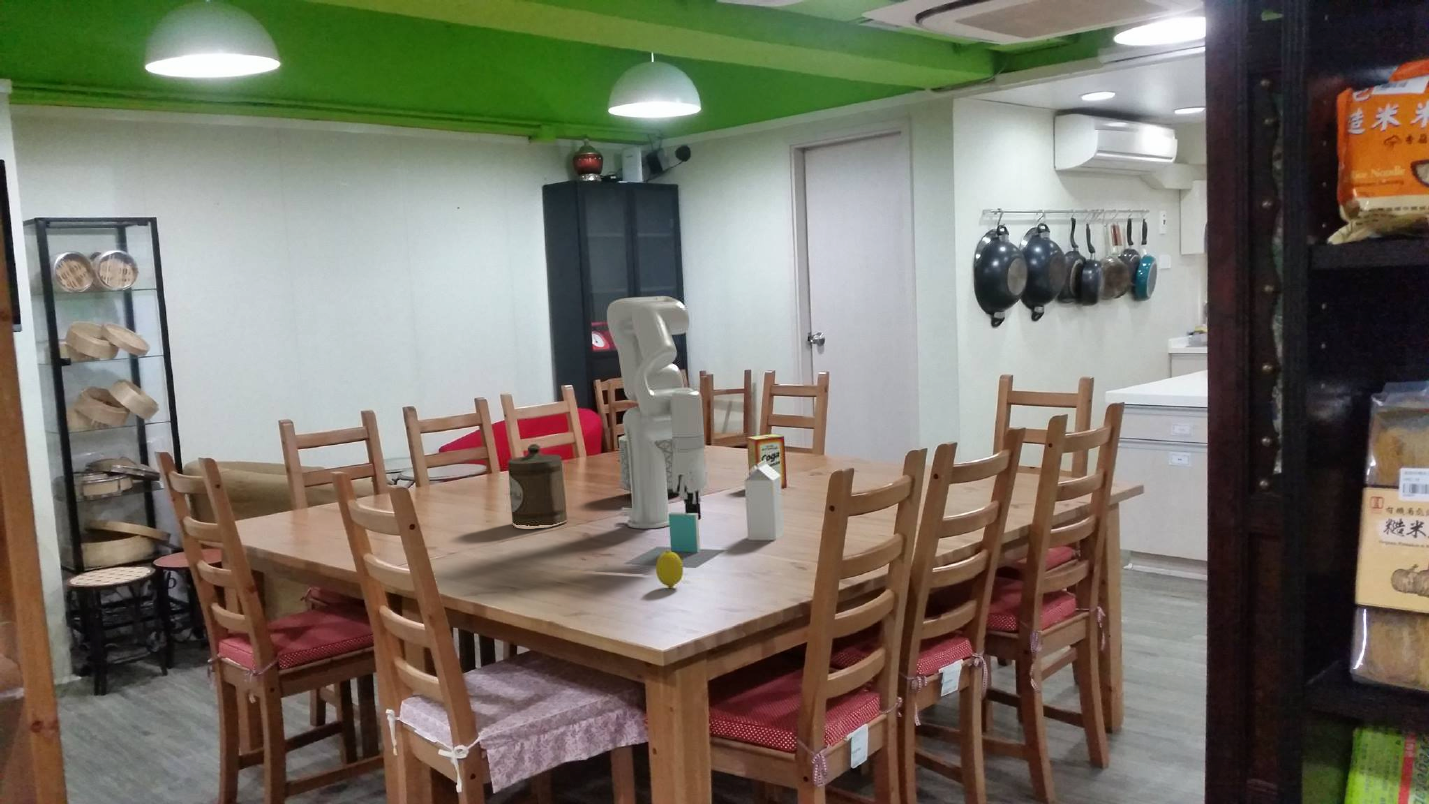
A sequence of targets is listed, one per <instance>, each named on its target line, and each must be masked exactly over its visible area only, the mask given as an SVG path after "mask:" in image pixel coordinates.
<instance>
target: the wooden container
mask: <svg viewBox="0 0 1429 804" xmlns="http://www.w3.org/2000/svg"><path fill="white" fill-rule="evenodd" d="M527 450H528V453H527V454H526V456H519V457H513V458H511V459H509V460H507V471H508V481H509V482H508V483H509V498H510V510H511V519H512V520H511V522H512V524H513V523H514V524H516V525H526V526H528V525H529V526H539V525H553V524H557V523H560V522H564V521H565V520H567V521H568V514H567V513H568V512H567V503H566V501H567V499H566V491H565V483H564V472H563V461H562V455H558V454H542V453H541V452H540V450H541V446H540V445H538V444H536V443H535V444H530V445H529V446H528V447H527Z"/></svg>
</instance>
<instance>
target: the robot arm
mask: <svg viewBox="0 0 1429 804" xmlns="http://www.w3.org/2000/svg"><path fill="white" fill-rule="evenodd" d="M606 311H607V312H606V321H607V328H608V331H609V333H610V336H611V338H612V341H613V343H614V344H615V348H616V350H617V353H618V361H619V365H620V373H621V380H622V386H623V391H624V395H625V396H626V398H627V399H628V400H629V401H632V402H633V401H634V402H637V405H638V406H633V407H631V408H629V409H628V410H626V411H625V413H624V414H623V417H622V427H623V430H624V436H626V441H627V446H628V454H629V466H630V480H631V492H630V493H631V506H632V507H621V510H620V516H622V517H629V519H628V520H627V526H628V527H630V528H633V529H657V528H663V527H668V526H669V513H670V512H669V510H670V509H669V498H668V497H669V494H668V495H667V480H666V465H665V457H664V454H663V453H662V451H661V450H660V449H659V448H658V447H657V446H656V445H655V443H654V442H655V441H659V440H666V439H672V441H673V451H674V452H673V460H672V487H673V492H672V493H675V494H678V493H679V499H680V500H683V505H684V511H685V512H684V513H698V521H701V519H702V515H701V514H702V513H701V501H702V500H701V499H702V498H701V496H702V495H701V494H702V493H703V492H704V488H705V487H706V486H707V484H708V472H707V462H706V455H705V449H706V446H705V444H706V443H705V433H704V431H705V430H704V413H703V399H702V394H701V392H699V391H697V390H694V389H692V388H690V387H685V384H684V379H683V375H682V372H681V370H680V369H679V367H678V366H677V364H674V363H673V362H675V359H676V358H677V356H678V355H677V354H678V352H677V348H676V345H675V342H674V338H673V335H682V334H685V333H686V332H687V331H688V329H689V327H690V315H689V312H688V310H687V308H686V306H685V304H683V303H682V302H681V301H680V300H678V299H675V298H673V297H670V296H668V295H667V296H666V295H660V296H659V295H657V296H656V295H655V296H639V297H637V296H635V297H627V298H626V297H625V298H620V299H617V300H614V301H612V302H610V304H609V305H608V308H607V310H606Z"/></svg>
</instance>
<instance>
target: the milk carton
mask: <svg viewBox="0 0 1429 804" xmlns="http://www.w3.org/2000/svg"><path fill="white" fill-rule="evenodd" d="M749 472H750V473H751V475H750V476H749V475H748V476H747V478H746V479H745V480H744V492H745V493H744V494H745V507H746V508H745V510H746V529H747V531H746V532H747V540H751V541H753V540H755V541H756V540H759V541H777V540H778V539H779V538H781V536H784V533H785V531H784V514H783V513H784V512H783V495H782V493H783V492H782V488H781V475H780V474H778V473H777V472H776V471H775V470H774V469H773V468H771V467H770V466H769V465H768V464H767V462H766V459H765V460H763V461H762V462H760V463H758V464H757V467H756V466H754V467H753V468H752V469H750V470H749V469H748V473H749Z"/></svg>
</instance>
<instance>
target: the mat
mask: <svg viewBox="0 0 1429 804" xmlns="http://www.w3.org/2000/svg"><path fill="white" fill-rule="evenodd" d="M667 550H670V551H671V546H670V547H669V546H655V547H654V548H652V549H650V550H648V551H646V552H644V553H642V554H640V555H638V556H636V557H634V558H633V559H631V560H628V561H627V562H625V563H623V564H624V565H625V564H626V565H638V566H639V565H642V566H655V567H656V565H657V560H658V558H659V557H660V555H662V554H663V553H665V552H666V551H667ZM725 551H727V550H726V549H709V548H707V549H706V548H700V552H698V553H696V552H677V551H671V552H674V553H676V554H677V555H678V556H679V557H680V559H681V562H682V565H683V568H692V569H693V568H694V569H696V568H699V567H700V566H702V565H703V564H705V563H707V562H708V561H710V560H712V559H714V558H715V557H717V556H719V555H720V554H722V553H724V552H725Z"/></svg>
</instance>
